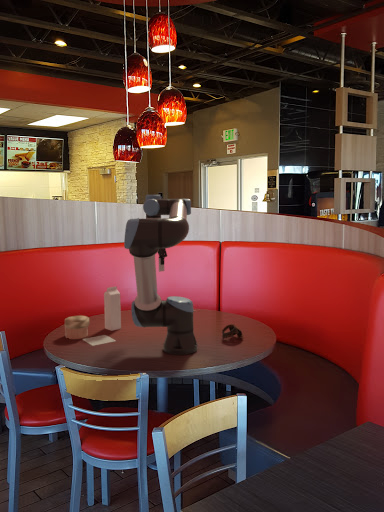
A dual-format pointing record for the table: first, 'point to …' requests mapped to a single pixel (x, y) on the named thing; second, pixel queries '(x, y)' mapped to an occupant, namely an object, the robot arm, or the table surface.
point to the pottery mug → (231, 331)
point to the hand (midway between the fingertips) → (154, 269)
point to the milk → (112, 309)
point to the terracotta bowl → (76, 333)
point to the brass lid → (76, 322)
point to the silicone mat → (99, 340)
